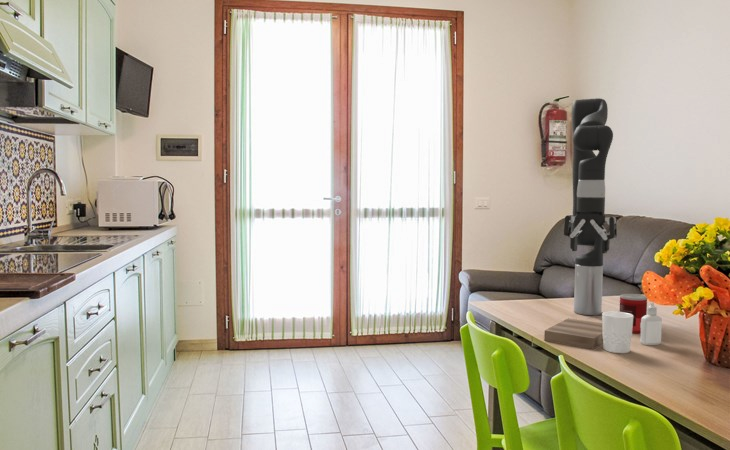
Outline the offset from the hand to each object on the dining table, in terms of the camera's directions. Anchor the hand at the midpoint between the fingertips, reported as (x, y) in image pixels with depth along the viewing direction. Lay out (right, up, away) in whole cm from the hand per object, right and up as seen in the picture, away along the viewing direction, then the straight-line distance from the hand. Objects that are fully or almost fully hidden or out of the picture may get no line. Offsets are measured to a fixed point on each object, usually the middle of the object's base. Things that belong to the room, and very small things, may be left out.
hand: (589, 252), depth 165 cm
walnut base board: (-1, -26, +5) cm, 26 cm away
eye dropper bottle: (+17, -26, -1) cm, 32 cm away
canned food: (+19, -26, +14) cm, 35 cm away
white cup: (+4, -27, -8) cm, 28 cm away
